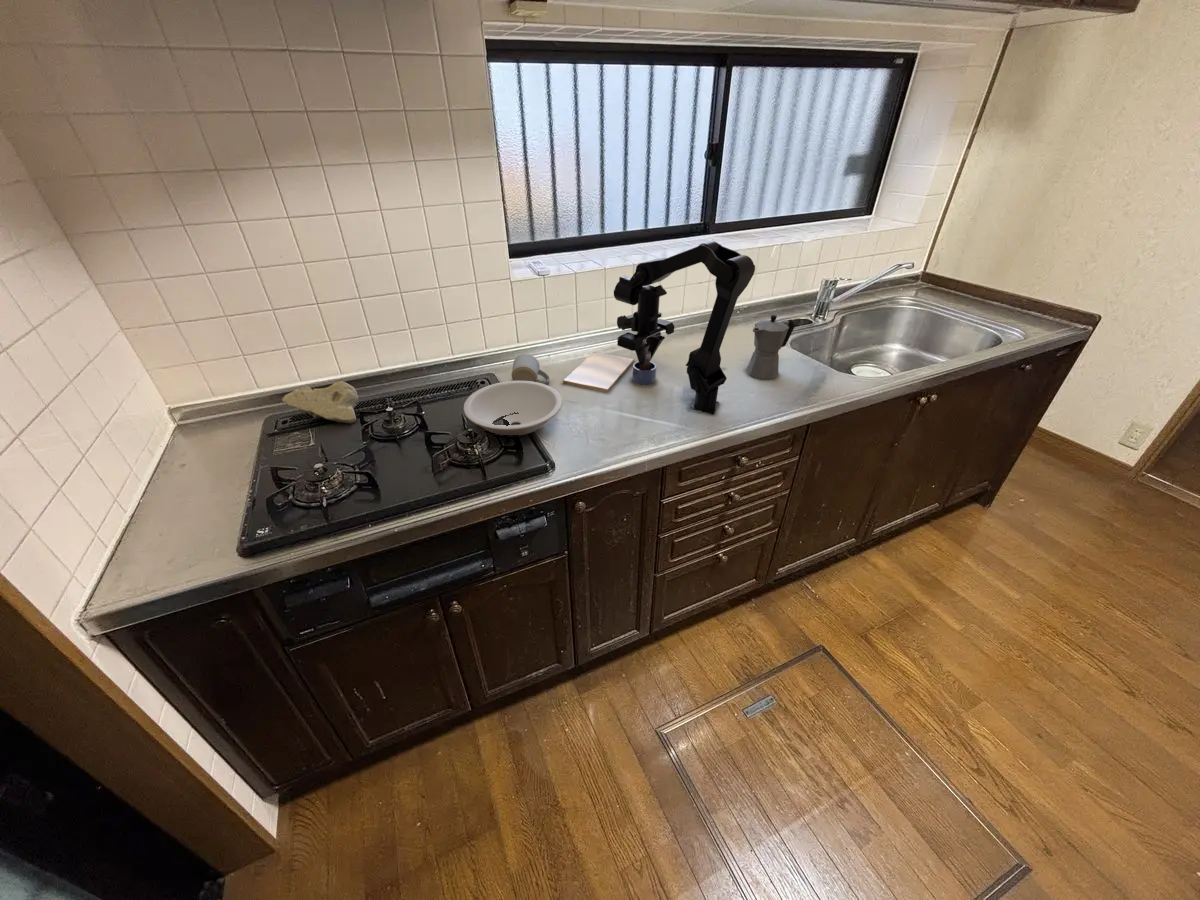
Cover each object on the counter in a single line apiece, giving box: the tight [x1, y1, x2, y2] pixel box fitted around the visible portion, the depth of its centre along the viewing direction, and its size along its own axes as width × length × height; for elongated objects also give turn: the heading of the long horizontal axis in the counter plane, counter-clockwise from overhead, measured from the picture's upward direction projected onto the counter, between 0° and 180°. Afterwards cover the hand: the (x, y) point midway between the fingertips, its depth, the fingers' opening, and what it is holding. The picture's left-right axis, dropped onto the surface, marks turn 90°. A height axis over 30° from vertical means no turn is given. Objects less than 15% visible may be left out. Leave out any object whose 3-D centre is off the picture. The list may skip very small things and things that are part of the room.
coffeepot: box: [746, 314, 796, 381], centre depth 147 cm, size 15×9×18 cm, turn 116°
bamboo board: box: [562, 351, 635, 393], centre depth 151 cm, size 22×14×1 cm, turn 157°
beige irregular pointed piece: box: [281, 380, 359, 424], centre depth 128 cm, size 15×7×15 cm
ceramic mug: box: [511, 353, 551, 386], centre depth 143 cm, size 11×8×8 cm
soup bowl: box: [463, 380, 563, 436], centre depth 125 cm, size 24×24×7 cm
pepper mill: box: [639, 351, 651, 370], centre depth 144 cm, size 3×3×9 cm
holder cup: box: [631, 360, 658, 386], centre depth 145 cm, size 7×7×5 cm
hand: (644, 362), depth 143 cm, fingers closed on pepper mill, 3 cm apart
